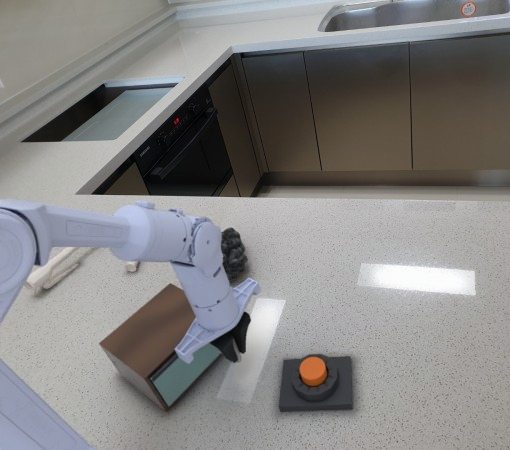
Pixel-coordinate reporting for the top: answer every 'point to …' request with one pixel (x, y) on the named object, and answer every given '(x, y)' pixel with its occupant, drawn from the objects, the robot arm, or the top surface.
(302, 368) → the light button
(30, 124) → the top surface
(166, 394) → the glass door
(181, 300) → the cabinet
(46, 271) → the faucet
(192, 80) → the top surface
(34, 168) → the top surface
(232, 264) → the fruit
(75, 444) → the robot arm
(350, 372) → the switch block
